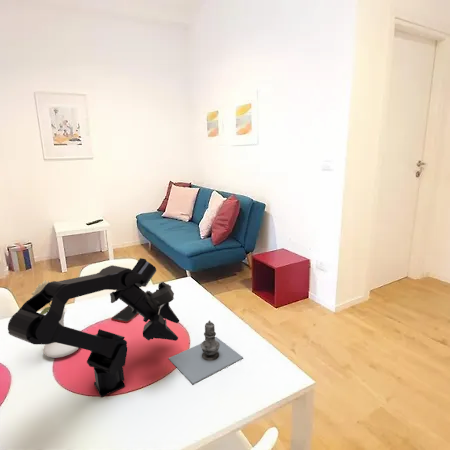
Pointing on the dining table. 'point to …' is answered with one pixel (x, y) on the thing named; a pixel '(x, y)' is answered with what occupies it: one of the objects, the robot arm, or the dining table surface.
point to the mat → (203, 362)
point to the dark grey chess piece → (210, 343)
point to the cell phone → (125, 315)
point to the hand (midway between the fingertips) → (177, 330)
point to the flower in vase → (54, 348)
